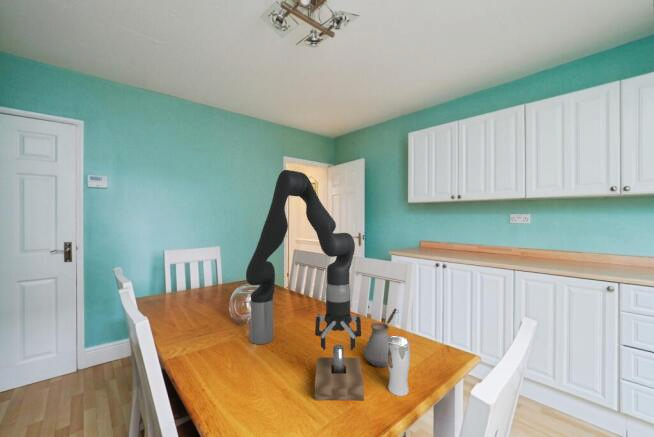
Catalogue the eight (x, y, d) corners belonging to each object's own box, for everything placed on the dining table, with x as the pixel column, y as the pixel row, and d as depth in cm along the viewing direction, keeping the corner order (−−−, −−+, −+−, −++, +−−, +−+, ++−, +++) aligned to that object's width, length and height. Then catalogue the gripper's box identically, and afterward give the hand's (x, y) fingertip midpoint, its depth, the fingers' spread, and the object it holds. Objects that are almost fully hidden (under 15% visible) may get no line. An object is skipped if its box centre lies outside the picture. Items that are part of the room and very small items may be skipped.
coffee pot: (388, 374, 91) (387, 329, 91) (358, 363, 98) (357, 321, 98) (410, 348, 109) (410, 310, 108) (383, 340, 115) (383, 305, 115)
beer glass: (383, 383, 87) (383, 336, 86) (405, 381, 87) (405, 334, 87) (390, 397, 80) (390, 346, 79) (414, 396, 80) (413, 345, 80)
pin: (333, 385, 84) (333, 349, 84) (333, 378, 87) (333, 344, 87) (344, 385, 84) (343, 349, 84) (343, 379, 87) (343, 344, 87)
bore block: (315, 400, 79) (314, 382, 79) (317, 372, 93) (317, 357, 93) (363, 400, 79) (363, 383, 79) (359, 372, 93) (359, 357, 93)
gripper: (314, 301, 82) (314, 354, 82) (362, 301, 81) (362, 355, 82) (316, 293, 89) (315, 342, 90) (359, 293, 89) (359, 343, 89)
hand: (338, 348), depth 86 cm, fingers open, 8 cm apart
